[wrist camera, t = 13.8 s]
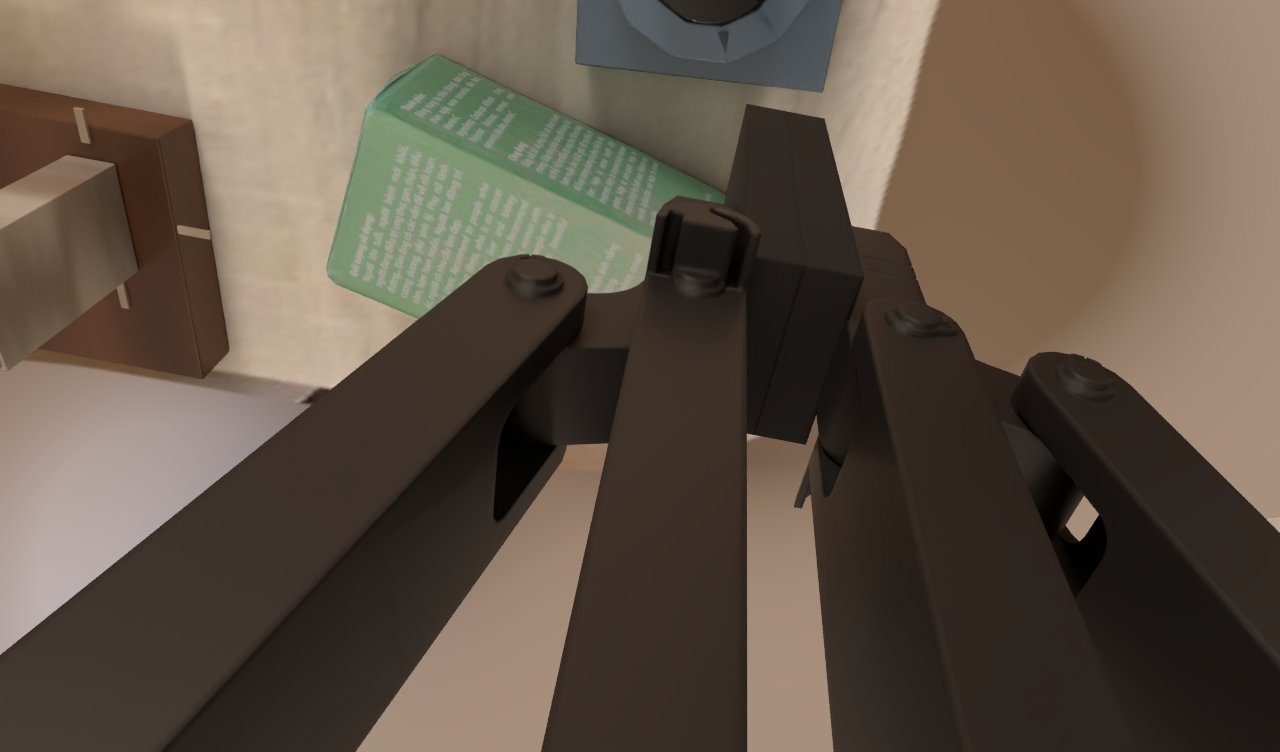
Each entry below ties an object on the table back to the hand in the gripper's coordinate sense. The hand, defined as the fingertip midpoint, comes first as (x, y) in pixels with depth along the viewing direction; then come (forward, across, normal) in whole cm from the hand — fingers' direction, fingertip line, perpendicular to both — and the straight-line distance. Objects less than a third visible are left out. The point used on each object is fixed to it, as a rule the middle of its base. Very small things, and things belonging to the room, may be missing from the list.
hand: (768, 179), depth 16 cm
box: (+17, -7, -9) cm, 20 cm away
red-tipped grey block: (+14, -25, -12) cm, 32 cm away
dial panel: (+17, -30, -14) cm, 38 cm away
